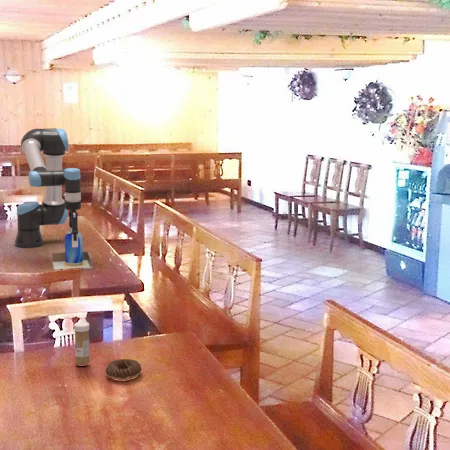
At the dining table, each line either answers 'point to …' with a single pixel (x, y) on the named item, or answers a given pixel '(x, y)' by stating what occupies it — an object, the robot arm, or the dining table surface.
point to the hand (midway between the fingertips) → (73, 243)
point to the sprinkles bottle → (81, 343)
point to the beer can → (73, 250)
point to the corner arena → (60, 263)
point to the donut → (123, 369)
